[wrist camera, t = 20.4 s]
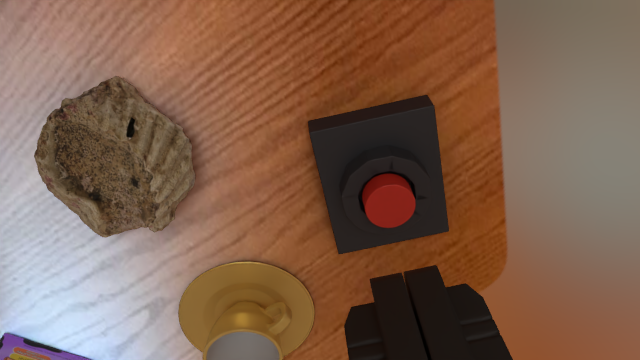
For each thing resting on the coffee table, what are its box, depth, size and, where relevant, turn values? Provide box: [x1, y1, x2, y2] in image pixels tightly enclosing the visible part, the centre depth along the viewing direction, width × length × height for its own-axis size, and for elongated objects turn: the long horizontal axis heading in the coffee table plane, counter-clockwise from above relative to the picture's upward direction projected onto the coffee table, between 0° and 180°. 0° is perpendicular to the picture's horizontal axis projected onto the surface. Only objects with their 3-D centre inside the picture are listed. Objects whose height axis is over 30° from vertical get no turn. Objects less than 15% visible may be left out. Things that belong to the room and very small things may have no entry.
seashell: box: [34, 76, 196, 237], centre depth 39 cm, size 11×7×10 cm
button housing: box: [308, 95, 449, 254], centre depth 42 cm, size 11×9×4 cm
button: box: [362, 173, 416, 228], centre depth 40 cm, size 4×4×2 cm
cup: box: [178, 262, 315, 360], centre depth 48 cm, size 12×12×5 cm
